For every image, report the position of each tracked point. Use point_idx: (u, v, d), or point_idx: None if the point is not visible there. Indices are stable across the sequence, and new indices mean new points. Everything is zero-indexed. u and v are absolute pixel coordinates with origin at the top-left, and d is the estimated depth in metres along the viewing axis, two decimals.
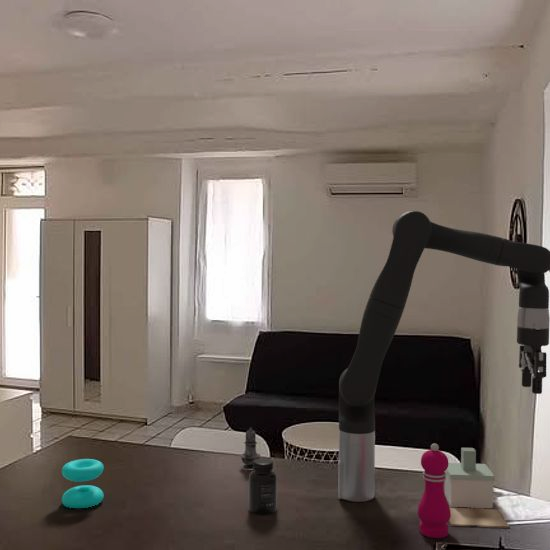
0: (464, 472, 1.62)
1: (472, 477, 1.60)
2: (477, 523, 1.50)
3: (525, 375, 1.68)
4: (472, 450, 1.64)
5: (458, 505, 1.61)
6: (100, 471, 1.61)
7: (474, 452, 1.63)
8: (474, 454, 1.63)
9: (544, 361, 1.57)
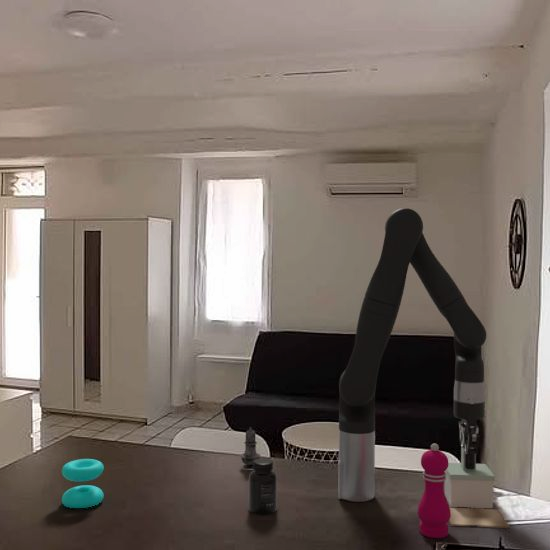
0: (464, 472, 1.62)
1: (472, 477, 1.60)
2: (477, 523, 1.50)
3: None
4: None
5: (458, 505, 1.61)
6: (100, 471, 1.61)
7: None
8: None
9: (477, 442, 1.59)
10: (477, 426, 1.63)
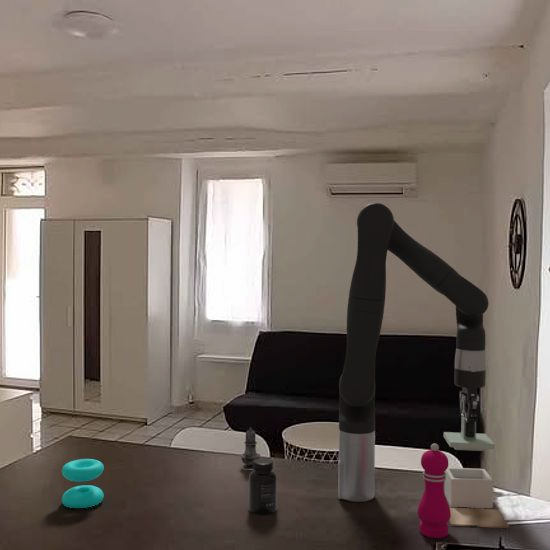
0: (464, 440, 1.62)
1: (472, 445, 1.60)
2: (477, 523, 1.50)
3: None
4: None
5: (458, 505, 1.61)
6: (100, 471, 1.61)
7: None
8: None
9: (477, 410, 1.58)
10: None
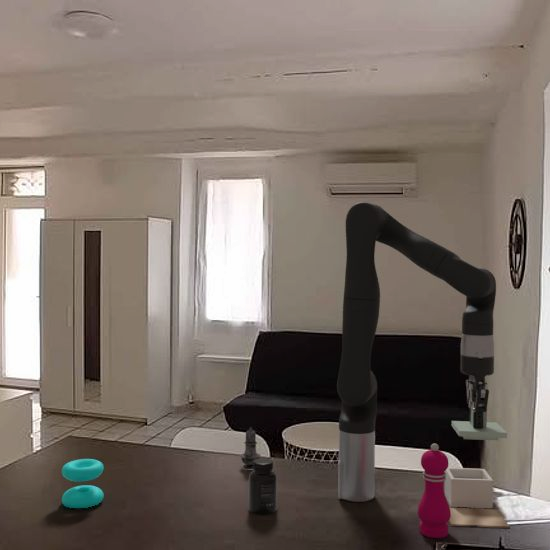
0: (474, 429, 1.51)
1: (483, 434, 1.49)
2: (477, 523, 1.50)
3: None
4: None
5: (458, 505, 1.61)
6: (100, 471, 1.61)
7: None
8: None
9: (486, 399, 1.47)
10: None
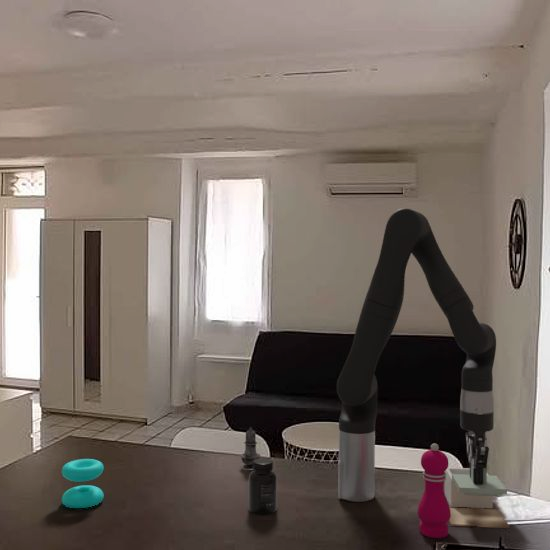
0: (474, 485, 1.51)
1: (483, 490, 1.49)
2: (477, 523, 1.50)
3: None
4: None
5: (458, 505, 1.61)
6: (100, 471, 1.61)
7: None
8: None
9: (485, 456, 1.48)
10: (486, 438, 1.52)
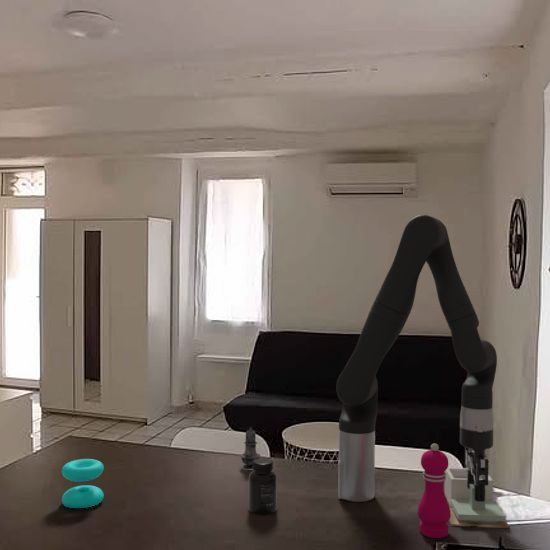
0: (473, 511, 1.51)
1: (481, 517, 1.49)
2: (477, 523, 1.50)
3: (470, 477, 1.57)
4: None
5: None
6: (100, 471, 1.61)
7: None
8: None
9: (486, 469, 1.47)
10: (485, 455, 1.52)
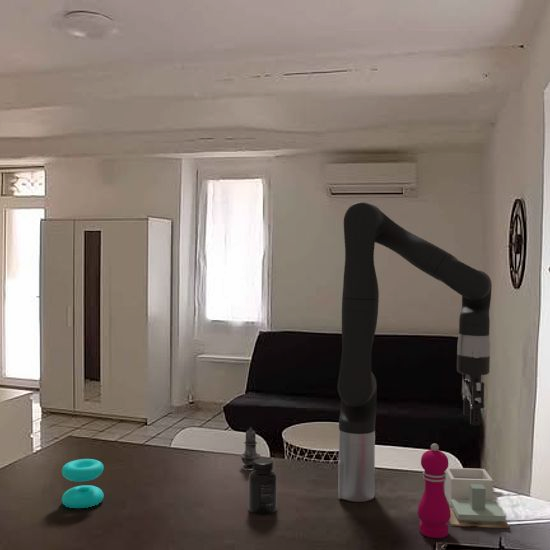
0: (473, 511, 1.51)
1: (481, 517, 1.49)
2: (477, 523, 1.50)
3: (467, 404, 1.61)
4: (481, 487, 1.53)
5: None
6: (100, 471, 1.61)
7: (483, 489, 1.52)
8: (483, 492, 1.52)
9: (481, 392, 1.50)
10: None
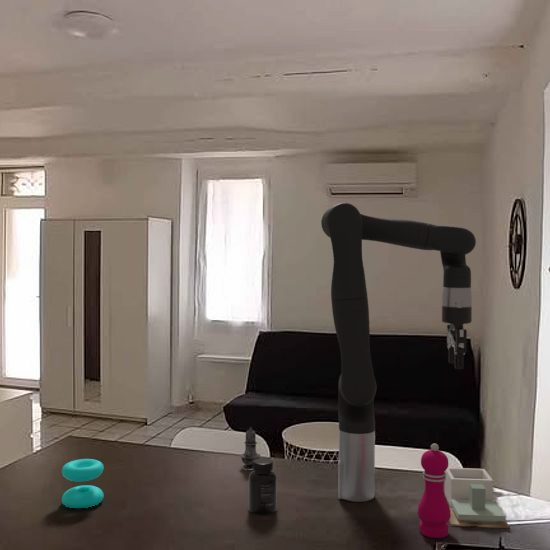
0: (473, 511, 1.51)
1: (481, 517, 1.49)
2: (477, 523, 1.50)
3: (451, 352, 1.75)
4: (481, 487, 1.53)
5: None
6: (100, 471, 1.61)
7: (483, 489, 1.52)
8: (483, 492, 1.52)
9: (464, 338, 1.64)
10: None
